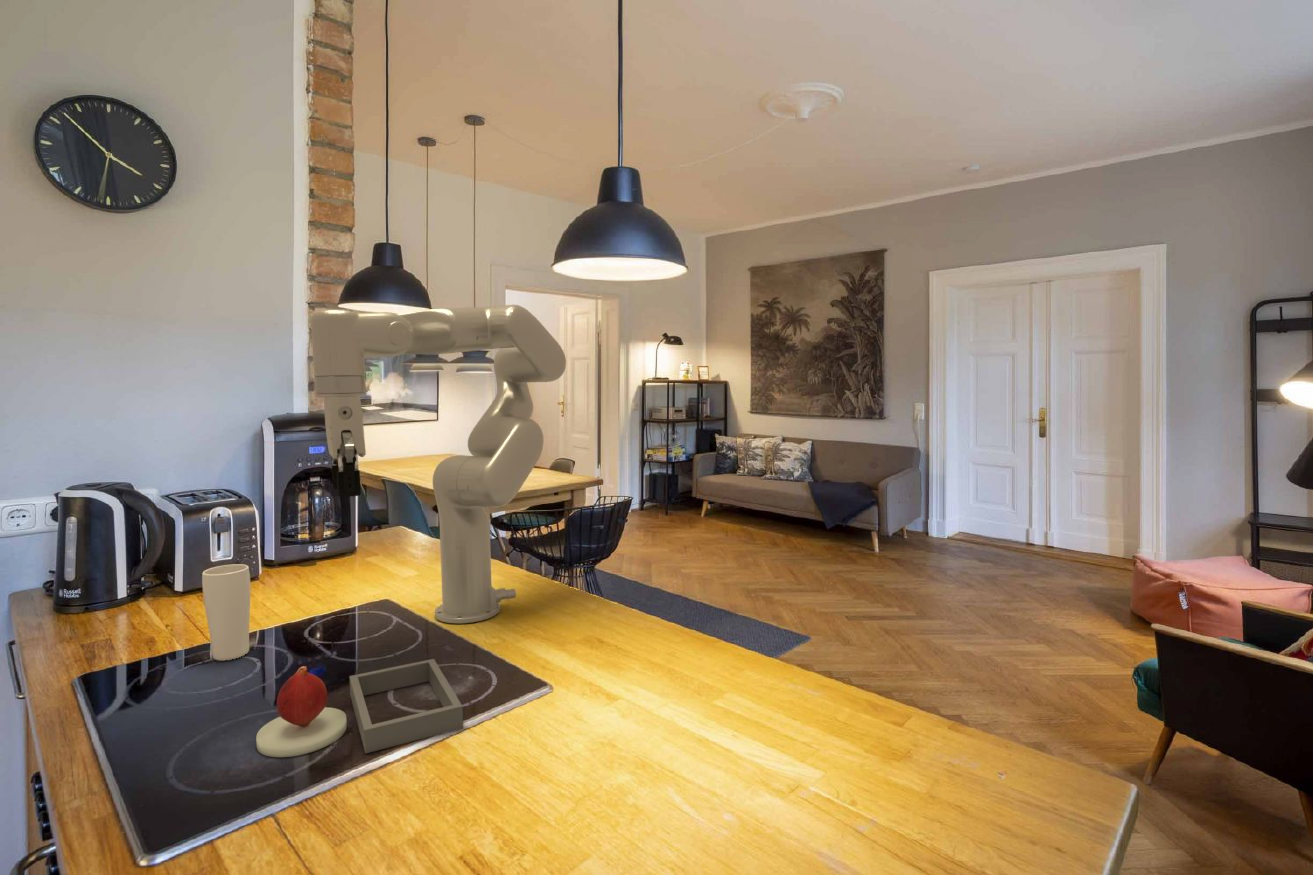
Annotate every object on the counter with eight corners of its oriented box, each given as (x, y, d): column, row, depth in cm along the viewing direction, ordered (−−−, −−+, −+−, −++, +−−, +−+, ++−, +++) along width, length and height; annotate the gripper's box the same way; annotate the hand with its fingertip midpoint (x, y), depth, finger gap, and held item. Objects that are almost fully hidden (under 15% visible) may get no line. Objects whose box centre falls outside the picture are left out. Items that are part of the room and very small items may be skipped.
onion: (279, 742, 83) (275, 680, 83) (277, 722, 88) (274, 664, 88) (330, 729, 86) (327, 669, 86) (326, 711, 91) (323, 654, 91)
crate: (434, 677, 104) (433, 658, 104) (463, 727, 89) (462, 706, 88) (350, 695, 98) (349, 676, 98) (365, 753, 83) (364, 730, 83)
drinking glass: (231, 665, 110) (226, 575, 109) (197, 662, 111) (191, 573, 110) (263, 649, 116) (258, 564, 115) (230, 646, 118) (225, 563, 117)
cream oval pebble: (343, 708, 94) (342, 700, 94) (350, 742, 85) (350, 733, 85) (257, 728, 89) (256, 719, 89) (255, 766, 80) (255, 756, 80)
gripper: (373, 387, 103) (378, 497, 104) (359, 387, 118) (364, 483, 119) (318, 388, 99) (325, 502, 101) (311, 388, 114) (317, 487, 116)
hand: (346, 492), depth 110 cm, fingers open, 9 cm apart
